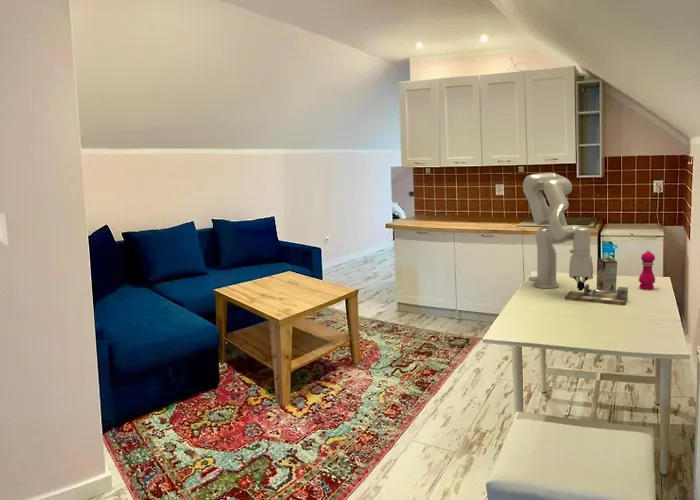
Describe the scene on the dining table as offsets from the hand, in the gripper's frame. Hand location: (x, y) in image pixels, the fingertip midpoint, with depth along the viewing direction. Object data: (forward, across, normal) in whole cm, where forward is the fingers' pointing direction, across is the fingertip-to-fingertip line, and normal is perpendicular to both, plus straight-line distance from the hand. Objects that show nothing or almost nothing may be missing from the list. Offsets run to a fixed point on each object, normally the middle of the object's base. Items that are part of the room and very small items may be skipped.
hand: (580, 289), depth 265 cm
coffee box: (+4, +9, +16) cm, 19 cm away
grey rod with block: (+2, +7, -1) cm, 7 cm away
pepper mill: (+4, +26, +28) cm, 39 cm away
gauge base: (+4, +7, -1) cm, 8 cm away
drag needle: (+1, +7, -5) cm, 8 cm away
